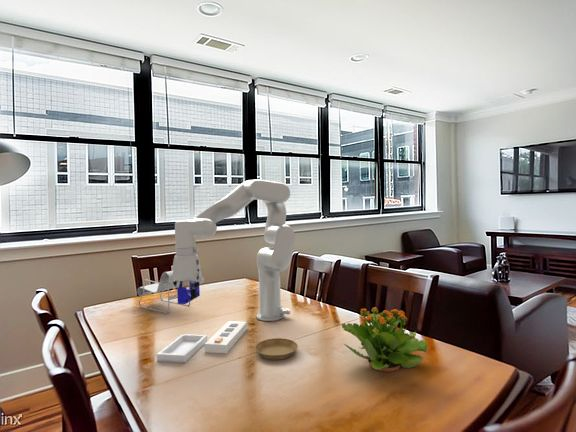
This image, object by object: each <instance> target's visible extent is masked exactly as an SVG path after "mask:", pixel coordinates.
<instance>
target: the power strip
mask: <svg viewBox="0 0 576 432" xmlns="http://www.w3.org/2000/svg"><path fill="white" fill-rule="evenodd" d="M246 331H248V321H238V320H235V321H234V320H228V321H227V322H226V323H225V324H223V326H222V327H220V328H219V330H218V331H217V332H215V333H214V334H213V336H211V337H210V338H209V339H207V342H206V343H205V345H204V353H213V354H228V353H229V352H230V350H231V349H232V348H233V347H234V345H235V344H236V343H237V342H238V341H239V339H240V338H241V337H242V336H243V334H244V333H246Z"/></svg>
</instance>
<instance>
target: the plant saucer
mask: <svg viewBox="0 0 576 432" xmlns="http://www.w3.org/2000/svg"><path fill="white" fill-rule="evenodd" d="M297 349H298V344H297V342H296V341H294V340H292V339H288V338H281V337H276V338H267V339H264V340H261V341H259V342H257V344H255V347H254V350H255V351H256V352H257V353H258V354H259V355H260V357H262V358H264V359H266V360H273V361H274V360H275V361H278V360H283V359H284V360H285V359H286V358H289V357H290V356H292V355H294V353H295V352H296V351H297Z"/></svg>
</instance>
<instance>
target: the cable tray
mask: <svg viewBox="0 0 576 432" xmlns="http://www.w3.org/2000/svg"><path fill="white" fill-rule="evenodd" d="M207 341H208V335H207V334H191V333H187V334H186V333H182V334H180V335H179V336H178V337H176V339H174V340H173V341H172V342H170V343H169V344H168V345H166V347H164V348H162V349H161V350H159V352H157V354H156V362H160V363H161V362H162V363H176V364H186V363H187V362H188V361H189V360H190V359H191V358H192V357H193V356H194V355H195V354H196V353H197V352H198V351H199V350H201V349H202V348H203V347H205V343H206V342H207Z"/></svg>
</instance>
